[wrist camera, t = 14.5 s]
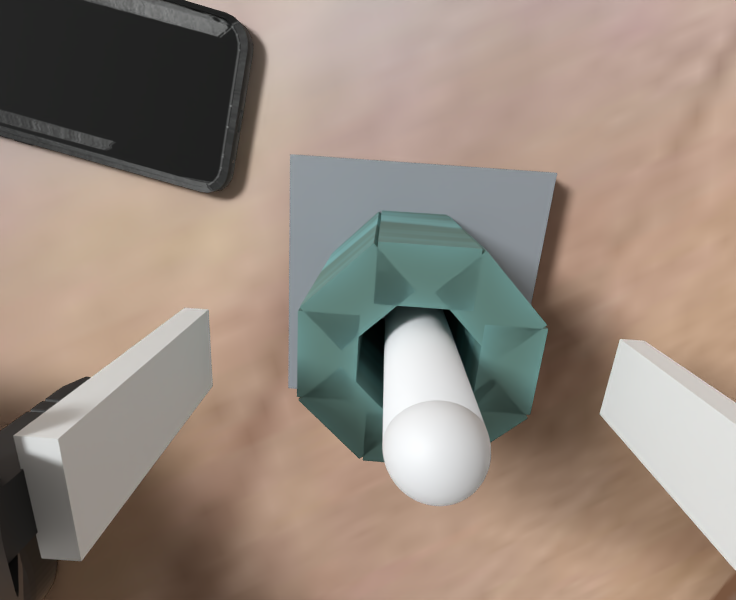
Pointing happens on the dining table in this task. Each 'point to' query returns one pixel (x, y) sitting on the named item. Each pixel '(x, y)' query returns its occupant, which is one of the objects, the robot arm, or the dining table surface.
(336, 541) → the dining table surface
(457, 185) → the spindle plate
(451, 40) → the dining table surface
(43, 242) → the dining table surface
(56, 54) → the phone
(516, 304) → the bead
